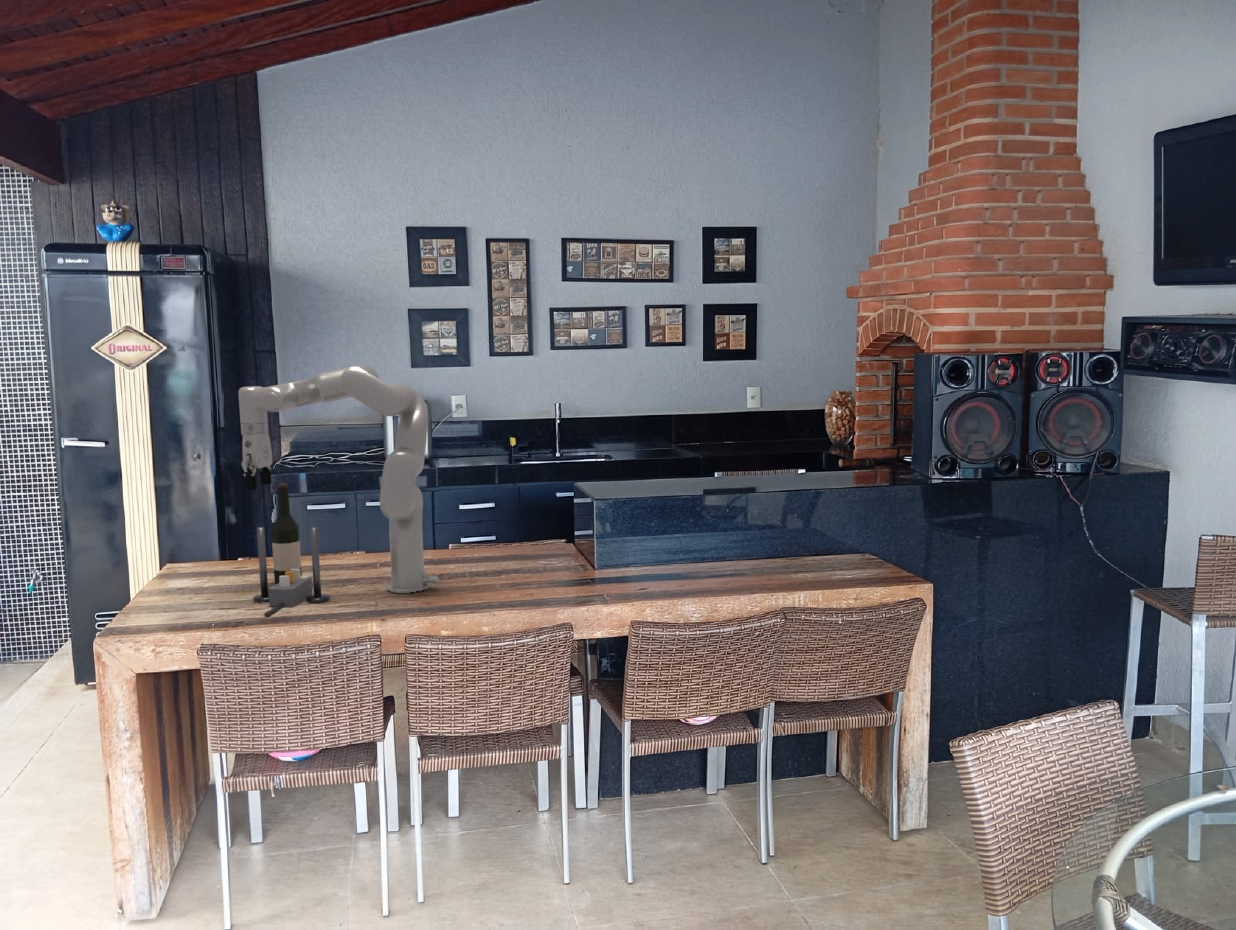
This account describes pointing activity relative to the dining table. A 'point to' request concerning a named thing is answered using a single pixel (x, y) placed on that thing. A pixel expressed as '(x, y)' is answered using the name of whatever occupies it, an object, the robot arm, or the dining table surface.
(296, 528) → the wine bottle
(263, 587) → the post
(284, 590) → the grey power strip
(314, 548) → the post
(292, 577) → the breaker paddle
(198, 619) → the dining table surface
